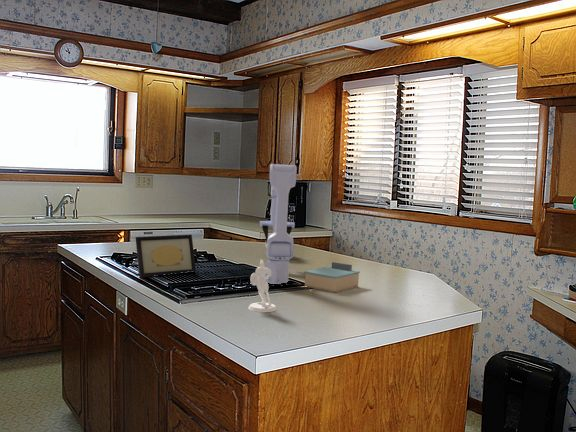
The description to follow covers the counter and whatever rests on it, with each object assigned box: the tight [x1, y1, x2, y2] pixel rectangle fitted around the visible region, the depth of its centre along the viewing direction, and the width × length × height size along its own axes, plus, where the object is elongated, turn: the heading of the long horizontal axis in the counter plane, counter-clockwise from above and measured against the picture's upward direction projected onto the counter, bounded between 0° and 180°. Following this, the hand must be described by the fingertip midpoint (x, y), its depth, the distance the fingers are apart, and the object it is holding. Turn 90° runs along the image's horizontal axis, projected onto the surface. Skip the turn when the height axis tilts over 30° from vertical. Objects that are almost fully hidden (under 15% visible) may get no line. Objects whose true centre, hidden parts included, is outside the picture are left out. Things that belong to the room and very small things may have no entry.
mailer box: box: [304, 272, 360, 294], centre depth 213 cm, size 16×13×5 cm
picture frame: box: [134, 234, 197, 279], centre depth 222 cm, size 23×9×15 cm, turn 129°
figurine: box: [247, 259, 278, 313], centre depth 175 cm, size 9×9×15 cm
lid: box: [304, 261, 361, 279], centre depth 212 cm, size 16×13×3 cm
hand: (276, 243), depth 245 cm, fingers open, 7 cm apart
